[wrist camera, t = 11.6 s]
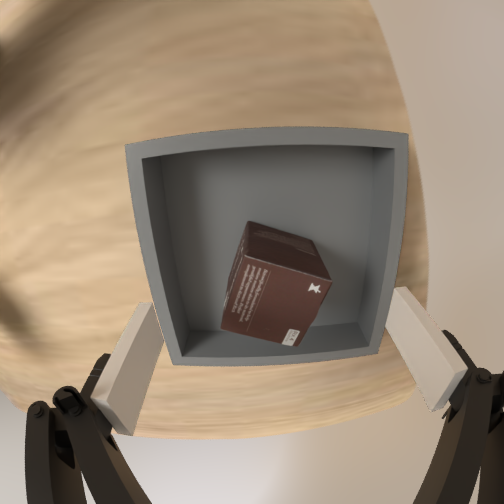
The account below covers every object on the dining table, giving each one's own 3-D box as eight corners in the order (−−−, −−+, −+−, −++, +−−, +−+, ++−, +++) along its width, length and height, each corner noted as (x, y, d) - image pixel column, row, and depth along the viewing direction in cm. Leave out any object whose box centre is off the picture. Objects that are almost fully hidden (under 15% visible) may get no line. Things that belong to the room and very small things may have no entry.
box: (247, 217, 23) (243, 252, 16) (314, 239, 24) (336, 280, 17) (227, 279, 25) (217, 330, 18) (288, 296, 26) (298, 349, 19)
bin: (148, 142, 21) (124, 144, 17) (382, 133, 20) (408, 133, 16) (182, 335, 29) (172, 364, 24) (364, 326, 28) (377, 353, 24)
